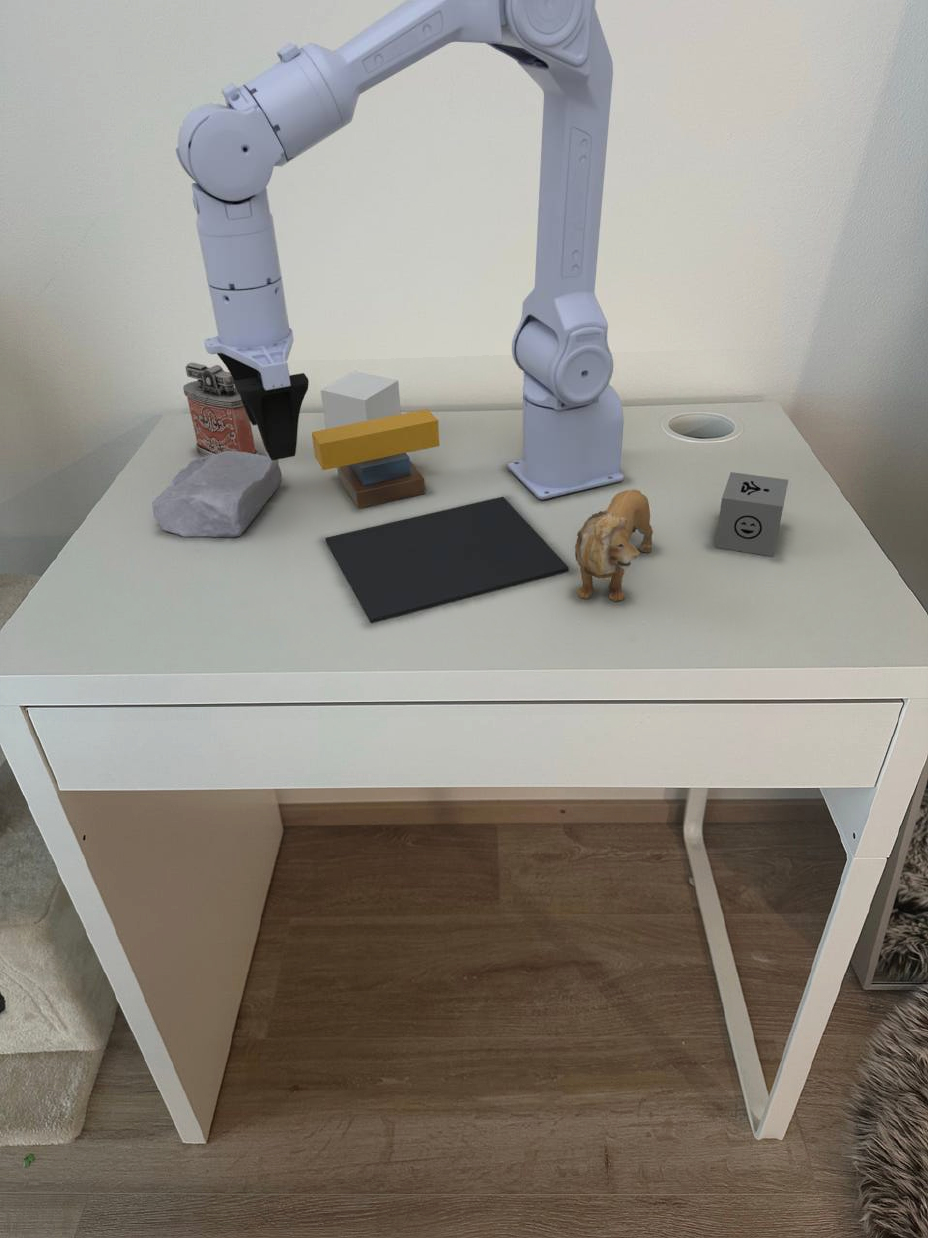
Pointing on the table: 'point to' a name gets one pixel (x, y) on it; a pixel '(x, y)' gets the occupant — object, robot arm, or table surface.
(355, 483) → the brown blue stepped block
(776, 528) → the dice cube
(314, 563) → the table surface
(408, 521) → the mat
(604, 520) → the lion figurine
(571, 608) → the table surface
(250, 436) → the lighter
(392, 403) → the white cube
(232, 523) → the stone block
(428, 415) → the bar
